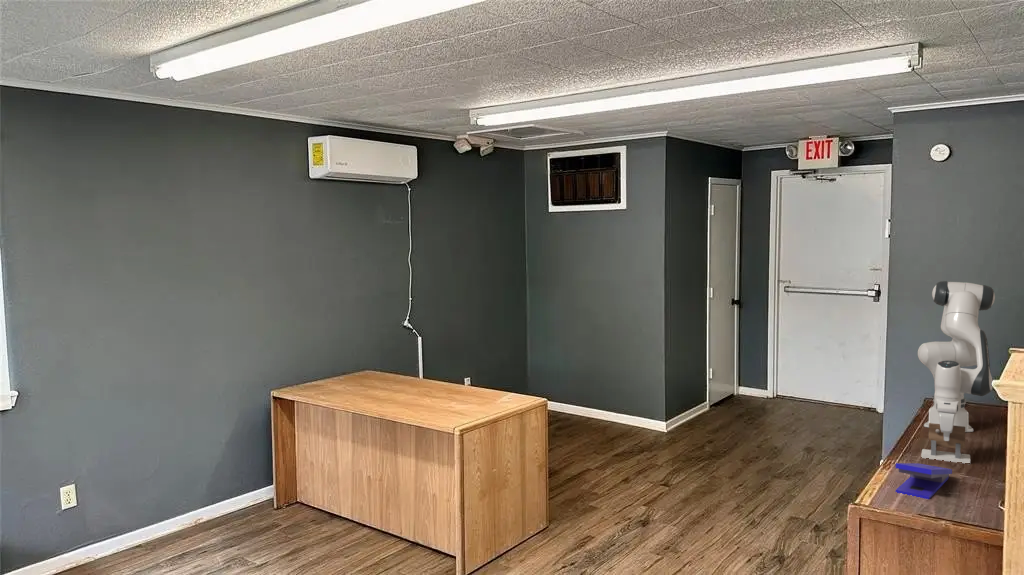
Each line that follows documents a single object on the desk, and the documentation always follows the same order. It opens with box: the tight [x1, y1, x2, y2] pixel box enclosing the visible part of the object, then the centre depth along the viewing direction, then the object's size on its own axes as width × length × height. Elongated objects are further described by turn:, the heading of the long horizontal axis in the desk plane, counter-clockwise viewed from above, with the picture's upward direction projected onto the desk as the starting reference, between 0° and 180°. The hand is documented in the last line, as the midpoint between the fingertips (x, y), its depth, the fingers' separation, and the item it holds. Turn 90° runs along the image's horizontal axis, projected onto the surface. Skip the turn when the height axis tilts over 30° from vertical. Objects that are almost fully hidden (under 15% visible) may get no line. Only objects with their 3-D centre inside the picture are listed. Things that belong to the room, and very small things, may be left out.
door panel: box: [927, 423, 966, 450], centre depth 279 cm, size 4×12×8 cm, turn 58°
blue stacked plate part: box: [895, 462, 953, 500], centre depth 250 cm, size 12×28×10 cm, turn 138°
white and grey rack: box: [920, 440, 971, 464], centre depth 280 cm, size 8×16×7 cm, turn 58°
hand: (946, 439), depth 280 cm, fingers closed on door panel, 3 cm apart
